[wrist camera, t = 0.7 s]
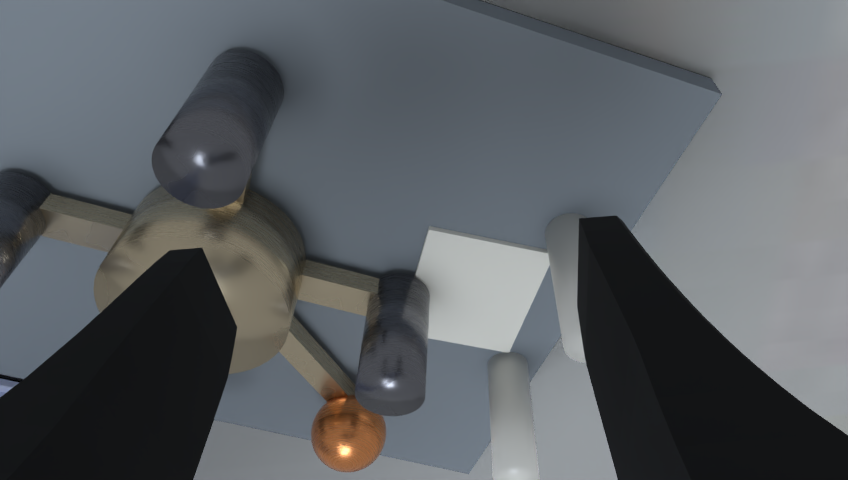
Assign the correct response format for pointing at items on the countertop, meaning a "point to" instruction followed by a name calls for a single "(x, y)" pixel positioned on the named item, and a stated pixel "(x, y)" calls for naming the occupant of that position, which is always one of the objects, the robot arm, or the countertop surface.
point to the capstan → (244, 258)
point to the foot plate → (340, 162)
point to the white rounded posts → (502, 320)
